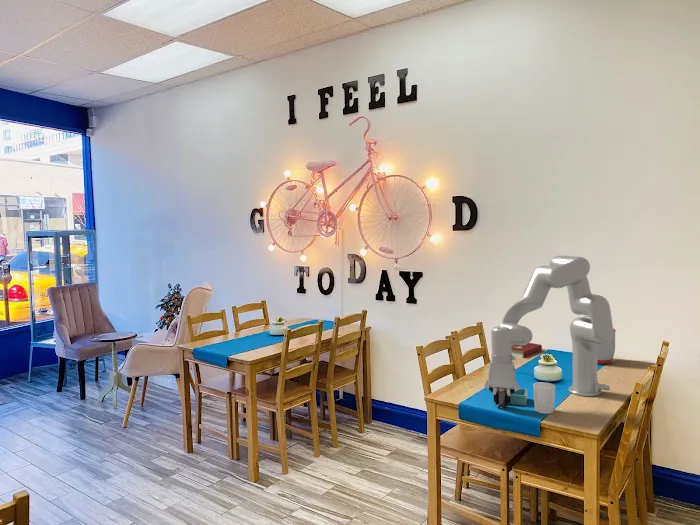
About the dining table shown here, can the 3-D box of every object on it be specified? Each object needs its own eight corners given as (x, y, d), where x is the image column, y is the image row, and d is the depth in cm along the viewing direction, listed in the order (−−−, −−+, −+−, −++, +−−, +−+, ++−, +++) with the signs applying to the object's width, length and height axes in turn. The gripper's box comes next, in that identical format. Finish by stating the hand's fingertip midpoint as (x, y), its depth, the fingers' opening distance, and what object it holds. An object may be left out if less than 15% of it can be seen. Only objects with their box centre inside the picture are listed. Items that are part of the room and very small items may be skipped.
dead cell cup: (527, 398, 216) (527, 389, 215) (525, 406, 207) (525, 396, 207) (503, 396, 219) (503, 387, 219) (501, 403, 210) (501, 394, 210)
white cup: (550, 406, 205) (550, 381, 205) (558, 414, 197) (558, 387, 197) (530, 407, 205) (530, 382, 204) (538, 414, 197) (537, 388, 196)
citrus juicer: (572, 360, 273) (572, 322, 271) (599, 356, 278) (599, 319, 276) (594, 367, 258) (594, 327, 256) (623, 363, 263) (623, 324, 261)
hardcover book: (542, 351, 294) (541, 344, 294) (523, 359, 280) (523, 351, 280) (522, 348, 303) (522, 341, 303) (503, 355, 288) (503, 347, 288)
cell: (507, 406, 208) (506, 384, 207) (506, 409, 204) (506, 387, 204) (498, 405, 209) (497, 384, 208) (497, 408, 206) (496, 386, 205)
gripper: (524, 357, 206) (524, 403, 207) (481, 355, 212) (481, 399, 213) (523, 362, 199) (523, 409, 200) (478, 359, 205) (479, 405, 206)
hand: (502, 404), depth 206 cm, fingers closed on cell, 3 cm apart
